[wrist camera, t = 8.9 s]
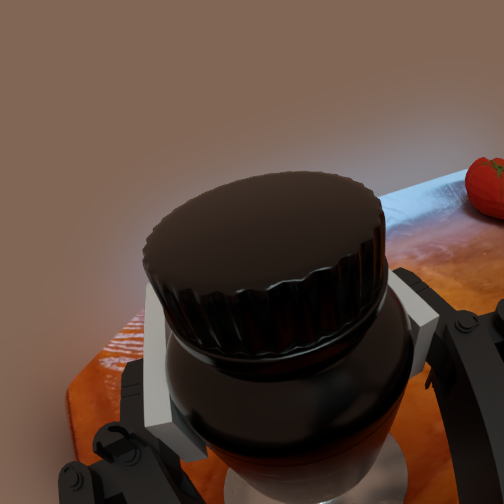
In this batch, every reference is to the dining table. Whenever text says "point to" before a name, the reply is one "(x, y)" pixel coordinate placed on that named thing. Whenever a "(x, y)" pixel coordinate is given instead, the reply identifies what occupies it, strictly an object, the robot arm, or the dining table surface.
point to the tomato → (486, 186)
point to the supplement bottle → (283, 329)
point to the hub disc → (355, 500)
